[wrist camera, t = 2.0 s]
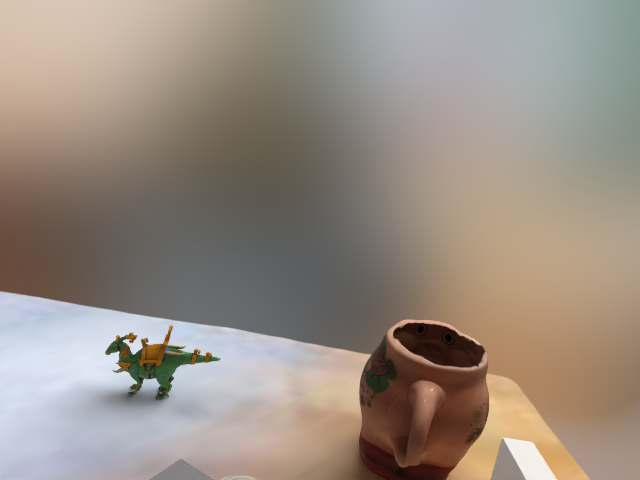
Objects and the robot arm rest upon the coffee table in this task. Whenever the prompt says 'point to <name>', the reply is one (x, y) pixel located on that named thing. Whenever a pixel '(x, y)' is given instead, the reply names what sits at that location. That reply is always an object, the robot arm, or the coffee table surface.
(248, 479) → the shiny silver rounded post
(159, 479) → the dial board
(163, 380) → the figurine
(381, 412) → the decorative planter
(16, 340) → the coffee table surface
